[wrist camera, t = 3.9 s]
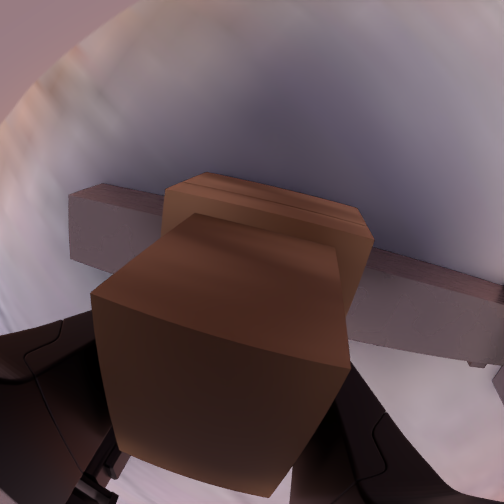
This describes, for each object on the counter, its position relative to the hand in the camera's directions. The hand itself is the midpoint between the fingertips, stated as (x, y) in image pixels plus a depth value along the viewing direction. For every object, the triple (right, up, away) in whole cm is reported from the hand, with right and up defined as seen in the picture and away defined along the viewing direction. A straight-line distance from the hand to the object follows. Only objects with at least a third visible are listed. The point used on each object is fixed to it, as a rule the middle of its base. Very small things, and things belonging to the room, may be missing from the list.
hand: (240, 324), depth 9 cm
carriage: (+1, +2, +5) cm, 5 cm away
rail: (+3, +1, +4) cm, 6 cm away
